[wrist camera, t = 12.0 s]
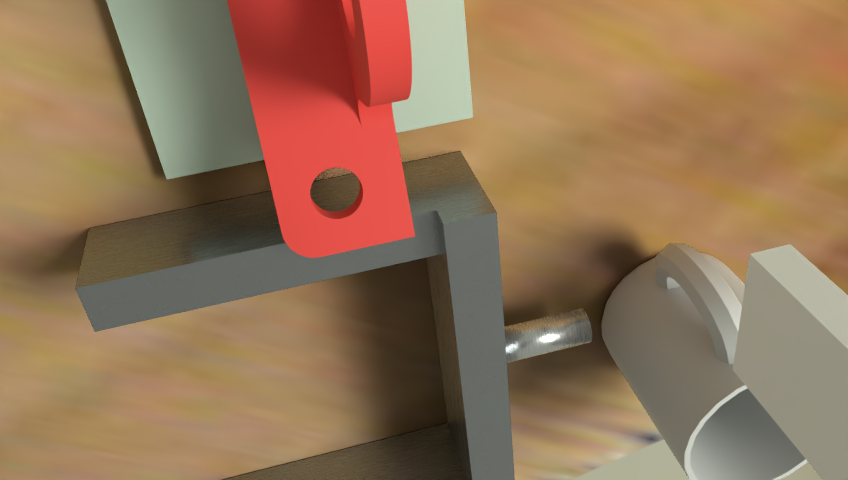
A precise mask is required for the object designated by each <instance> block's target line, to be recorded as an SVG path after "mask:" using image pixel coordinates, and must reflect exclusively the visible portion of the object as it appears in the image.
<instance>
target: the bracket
mask: <svg viewBox="0 0 848 480" xmlns="http://www.w3.org/2000/svg"><path fill="white" fill-rule="evenodd" d="M227 3H228V7H229V11H230V15H231V20H232V24H233V28H234V32H235V37H236V41H237V45H238V49H239V54H240V58H241V62H242V66H243V71H244V75H245V79H246V83H247V88H248V92H249V96H250V100H251V105H252V109H253V113H254V118H255V122H256V126H257V130H258V135H259V139H260V143H261V147H262V152H263V156H264V160H265V164H266V169H267V173H268V177H269V181H270V186H271V190H272V194H273V198H274V203H275V207H276V211H277V215H278V220H279V224H280V228H281V233H282V236H283V239H284V241H285V242H286V244H287V245H288V246H289V248H290V249H291V250H293V251H294V252H295V253H297V254H299V255H301V256H304V257H310V258H318V257H323V256H328V255H332V254H337V253H341V252H346V251H351V250H355V249H360V248H364V247H369V246H373V245H378V244H383V243H387V242H392V241H396V240H401V239H405V238H410V237H414V236H415V232H414V227H413V221H412V216H411V210H410V205H409V199H408V194H407V188H406V183H405V177H404V172H403V166H402V161H401V156H400V150H399V145H398V139H397V134H396V128H395V123H394V117H393V110H392V103H393V102H398V101H403V100H407V99H408V98H409V96H410V93H411V86H412V54H411V40H410V30H409V21H408V12H407V5H406V0H227ZM334 167H340V168H345V169H347V170H349V171H351V172H353V173H354V174H355V175H356V176H357V177H358V179H359V184H360V189H359V194H358V197H357V199H356V200H355V202H354V203H353V204H352V205H351V206H350V207H348V208H346V209H344V210H342V211H337V212H331V211H326V210H324V209H322V208H320V207H319V206H317V205H316V204H315V203H314V201H313V200H312V198H311V196H310V189H311V185H312V183H313V181H314V179H315V178H316V177H317V176H318V175H319V174H320V173H321V172H323V171H324V170H326V169H329V168H334Z"/></svg>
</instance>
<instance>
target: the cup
mask: <svg viewBox="0 0 848 480" xmlns="http://www.w3.org/2000/svg"><path fill="white" fill-rule="evenodd" d="M744 290H745V284H744V283H743V282H742V281H741V280H740V279H739V278H738V277H737V276H736V275H735V274H734V273H733V272H732V271H731V270H730V269H729V268H728V267H727V266H726V265H725V264H724V263H722V262H721V261H720V260H718V259H716V258H714V257H712V256H711V255H709V254H704V253H699V252H698V251H697V250H695V249H694V248H693V247H691V246H689V245H686V244H677V243H670V244H668V245H667V246H666V247H665V248H664V249H663V250H662V251H661V252H660V253H659V254H658V255H657V256H656V257H654V258H652V259H650V260H649V261H647V262H645V263H643V264H641V265H639V266H638V267H636V268H635V269H634V270H633V271H631V272H630V273H629V274H628V275H626V276H625V277H624V278H623V279H622V280H621V282H620V283H619V284H618V285H617V286H616V288H615V289H614V290H613V292H612V294H611V295H610V297H609V299H608V301H607V303H606V305H605V310H604V314H603V318H602V323H601V328H602V338H603V340H604V342H605V344H606V346H607V349H608V351H609V352H610V354H611V356H612V358H613V360H614V361H615V363H616V365H617V366H618V368H619V369H620V371H621V372H622V374H623V376H624V377H625V379H626V380H627V382H628V383H629V385H630V387H631V388H632V390H633V391H634V393H635V394H636V396H637V397H638V399H639V401H640V402H641V404H642V405H643V407H644V408H645V410H646V412H647V413H648V415H649V416H650V418H651V419H652V421H653V423H654V424H655V426H656V427H657V429H658V430H659V432H660V434H661V435H662V437H663V438H664V440H665V441H666V443H667V445H668V446H669V448H670V449H671V451H672V452H673V454H674V456H675V457H676V459H677V460H678V462H679V463H680V465H681V467H682V468H683V470H684V471H685V473H686V474H687V476H688V478H689V479H690V480H780V479H782V478H784V477H785V476H787V475H789V474H791V473H792V472H794V471H795V470H797V469H798V468H800V467H801V466H803V465H804V464H805V463H807V462H808V461H807V460H806V459H805V458H804V456H803V455H802V454H801V453H800V451H799V450H798V449H797V448H796V447H795V445H794V444H793V443H792V442H791V440H790V439H789V438H788V437H787V436H786V434H785V433H784V432H783V431H782V429H781V428H780V427H779V426H778V425H777V423H776V422H775V421H774V420H773V418H772V417H771V416H770V415H769V414H768V412H767V411H766V410H765V409H764V407H763V406H762V405H761V404H760V403H759V401H758V400H757V399H756V398H755V396H754V395H753V394H752V393H751V392H750V390H749V389H748V388H747V387H746V385H745V384H744V383H743V382H742V381H741V379H740V378H739V377H738V376H737V374H736V373H735V372H734V371H733V363H734V357H735V350H736V343H737V337H738V330H739V323H740V317H741V310H742V303H743V297H744Z"/></svg>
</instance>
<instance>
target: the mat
mask: <svg viewBox="0 0 848 480" xmlns="http://www.w3.org/2000/svg"><path fill="white" fill-rule="evenodd" d="M106 2H107V5H108V8H109V11H110V14H111V17H112V20H113V23H114V26H115V29H116V31H117V34H118V37H119V40H120V43H121V46H122V49H123V52H124V55H125V58H126V61H127V64H128V67H129V70H130V73H131V76H132V79H133V82H134V85H135V88H136V91H137V94H138V97H139V99H140V102H141V105H142V108H143V111H144V114H145V117H146V120H147V123H148V126H149V129H150V132H151V135H152V138H153V141H154V144H155V147H156V150H157V153H158V156H159V159H160V162H161V165H162V167H163V170H164V173H165V176H166V179H172V178H177V177H182V176H187V175H192V174H197V173H202V172H207V171H212V170H217V169H221V168H226V167H231V166H236V165H241V164H246V163H251V162H256V161H261V160H264V156H263V152H262V147H261V143H260V139H259V135H258V130H257V126H256V122H255V118H254V113H253V109H252V105H251V100H250V96H249V92H248V88H247V83H246V79H245V75H244V71H243V66H242V62H241V58H240V54H239V49H238V45H237V41H236V37H235V32H234V28H233V24H232V20H231V15H230V11H229V7H228V3H227V0H106ZM406 5H407V12H408V21H409V30H410V40H411V54H412V86H411V93H410V96H409V98H408V99H407V100H403V101H398V102H393V103H392V110H393V117H394V123H395V128H396V133H399V132H404V131H409V130H414V129H419V128H423V127H428V126H433V125H438V124H443V123H448V122H453V121H458V120H463V119H468V118H473V110H472V98H471V85H470V73H469V61H468V48H467V36H466V23H465V11H464V0H406Z"/></svg>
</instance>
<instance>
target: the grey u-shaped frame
mask: <svg viewBox="0 0 848 480" xmlns="http://www.w3.org/2000/svg"><path fill="white" fill-rule="evenodd" d="M402 166H403V172H404V177H405V183H406V188H407V194H408V199H409V205H410V210H411V216H412V221H413V227H414V232H415V236H414V237H410V238H405V239H401V240H396V241H392V242H387V243H383V244H378V245H373V246H369V247H364V248H360V249H355V250H351V251H346V252H341V253H337V254H332V255H328V256H323V257H318V258H310V257H304V256H301V255H299V254H297V253H295V252H294V251H293V250H291V249H290V248H289V246H288V245H287V244H286V242H285V241H284V239H283V236H282V233H281V228H280V224H279V220H278V215H277V211H276V207H275V203H274V198H273V194H272V190H271V191H267V192H262V193H257V194H252V195H247V196H243V197H238V198H233V199H228V200H223V201H219V202H214V203H209V204H204V205H199V206H195V207H190V208H185V209H180V210H175V211H171V212H166V213H161V214H156V215H151V216H147V217H142V218H137V219H132V220H127V221H122V222H118V223H113V224H108V225H103V226H98V227H94V228H89V231H88V236H87V240H86V244H85V249H84V253H83V257H82V261H81V266H80V270H79V274H78V279H77V283H76V287H75V289H76V291H77V293H78V296H79V298H80V300H81V302H82V304H83V307H84V309H85V311H86V313H87V315H88V318H89V320H90V322H91V324H92V326H93V329H94V331H95V332H96V331H100V330H105V329H109V328H114V327H118V326H123V325H127V324H131V323H136V322H140V321H145V320H149V319H154V318H158V317H163V316H167V315H172V314H176V313H181V312H185V311H189V310H194V309H198V308H203V307H207V306H212V305H216V304H221V303H225V302H230V301H234V300H238V299H243V298H247V297H252V296H256V295H261V294H265V293H270V292H274V291H279V290H283V289H288V288H292V287H296V286H301V285H305V284H310V283H314V282H319V281H323V280H328V279H332V278H337V277H341V276H346V275H350V274H354V273H359V272H363V271H368V270H372V269H377V268H381V267H386V266H390V265H395V264H399V263H403V262H408V261H412V260H417V259H421V258H426V260H427V267H428V275H429V282H430V290H431V298H432V305H433V313H434V320H435V328H436V335H437V343H438V351H439V358H440V366H441V373H442V381H443V388H444V396H445V404H446V411H447V419H448V423H446V424H442V425H438V426H434V427H430V428H426V429H422V430H418V431H414V432H410V433H407V434H403V435H399V436H395V437H391V438H387V439H383V440H379V441H375V442H371V443H367V444H363V445H359V446H355V447H351V448H347V449H343V450H339V451H335V452H331V453H327V454H323V455H319V456H315V457H311V458H307V459H303V460H299V461H296V462H292V463H288V464H284V465H280V466H276V467H272V468H268V469H264V470H260V471H256V472H252V473H248V474H244V475H240V476H236V477H232V478H228V479H224V480H515V478H514V463H513V449H512V434H511V419H510V404H509V389H508V374H507V363H509V362H513V361H517V360H521V359H525V358H529V357H533V356H538V355H542V354H546V353H550V352H554V351H558V350H562V349H566V348H570V347H574V346H578V345H582V344H587V343H590V342H591V341H592V328H591V324H590V321H589V318H588V316H587V314H586V312H585V311H584V309H582V308H581V309H576V310H572V311H568V312H564V313H560V314H555V315H551V316H547V317H543V318H539V319H534V320H530V321H526V322H522V323H518V324H514V325H509V326H505V327H504V315H503V300H502V285H501V270H500V255H499V240H498V226H497V212H496V210H495V209H494V207H493V205H492V204H491V202H490V200H489V199H488V197H487V195H486V194H485V192H484V190H483V188H482V187H481V185H480V183H479V182H478V180H477V178H476V177H475V175H474V173H473V172H472V170H471V168H470V166H469V165H468V163H467V161H466V160H465V158H464V156H463V155H462V153H461V151H459V152H454V153H449V154H445V155H440V156H435V157H430V158H425V159H420V160H416V161H411V162H406V163H402ZM359 189H360V184H359V179H358V177H357V176H356V175H355V174H354V173H353V174H348V175H344V176H339V177H334V178H329V179H324V180H320V181H315V182H313V183H312V185H311V189H310V196H311V198H312V200H313V201H314V203H315V204H316V205H317V206H319V207H320V208H322V209H324V210H326V211H331V212H337V211H342V210H344V209H346V208H348V207H350V206H351V205H352V204H353V203H354V202H355V200H356V199H357V197H358V194H359Z"/></svg>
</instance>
